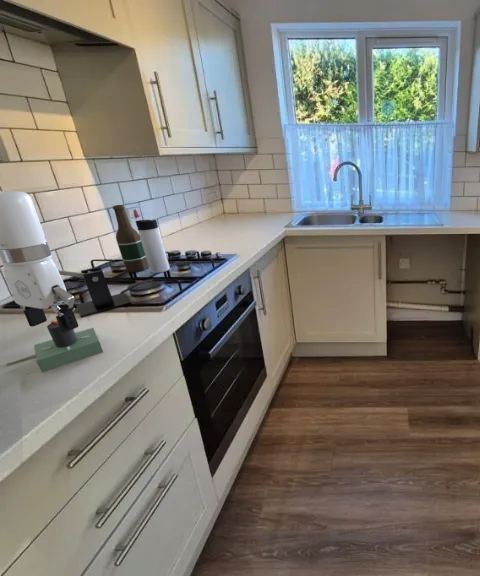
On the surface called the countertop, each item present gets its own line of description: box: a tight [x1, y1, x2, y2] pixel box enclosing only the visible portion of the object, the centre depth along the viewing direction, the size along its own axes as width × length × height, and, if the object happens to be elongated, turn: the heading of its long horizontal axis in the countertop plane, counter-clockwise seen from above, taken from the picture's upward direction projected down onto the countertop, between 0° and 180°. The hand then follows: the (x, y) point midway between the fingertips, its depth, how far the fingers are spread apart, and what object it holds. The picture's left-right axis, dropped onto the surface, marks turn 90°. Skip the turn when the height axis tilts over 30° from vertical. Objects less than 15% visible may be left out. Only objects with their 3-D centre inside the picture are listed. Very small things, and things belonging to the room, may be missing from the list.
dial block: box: [34, 327, 104, 373], centre depth 84 cm, size 11×9×3 cm
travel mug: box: [135, 219, 171, 274], centre depth 129 cm, size 6×7×20 cm
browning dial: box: [46, 320, 78, 347], centre depth 82 cm, size 4×4×5 cm
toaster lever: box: [58, 269, 93, 279], centre depth 100 cm, size 11×6×2 cm, turn 135°
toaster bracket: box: [75, 266, 132, 319], centre depth 104 cm, size 12×10×12 cm
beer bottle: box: [112, 204, 150, 273], centre depth 133 cm, size 8×8×24 cm
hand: (54, 326), depth 81 cm, fingers open, 9 cm apart
